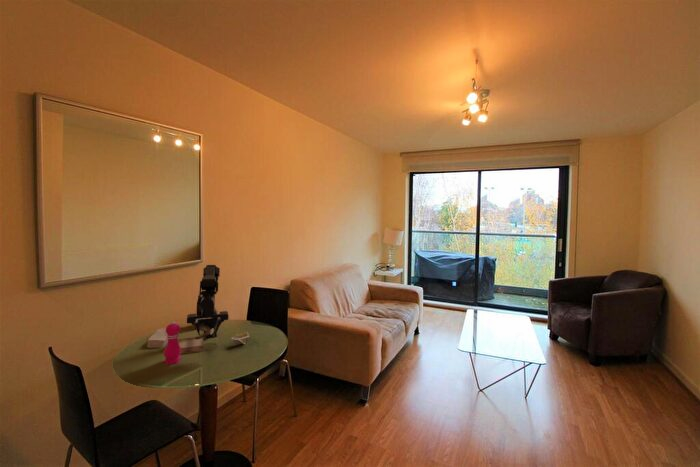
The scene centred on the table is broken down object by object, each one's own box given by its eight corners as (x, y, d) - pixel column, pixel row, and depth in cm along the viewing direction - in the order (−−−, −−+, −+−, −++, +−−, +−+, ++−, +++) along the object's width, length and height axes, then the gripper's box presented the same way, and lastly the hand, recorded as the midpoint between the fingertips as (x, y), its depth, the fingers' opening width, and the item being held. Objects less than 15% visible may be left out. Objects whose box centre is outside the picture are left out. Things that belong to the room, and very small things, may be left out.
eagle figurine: (214, 330, 165) (195, 328, 161) (217, 321, 162) (198, 320, 158) (212, 343, 159) (193, 342, 156) (216, 334, 156) (195, 333, 152)
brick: (164, 348, 168) (164, 339, 168) (146, 348, 166) (146, 339, 166) (174, 335, 184) (174, 327, 184) (158, 335, 182) (158, 327, 182)
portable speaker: (213, 326, 200) (214, 295, 198) (197, 328, 195) (197, 297, 193) (211, 321, 207) (212, 292, 205) (195, 323, 202) (195, 293, 200)
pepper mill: (169, 366, 149) (169, 324, 147) (160, 361, 153) (161, 321, 151) (184, 360, 155) (184, 320, 154) (175, 356, 159) (176, 317, 157)
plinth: (203, 341, 177) (203, 336, 177) (203, 350, 166) (203, 345, 166) (178, 344, 172) (178, 339, 172) (177, 354, 161) (177, 348, 161)
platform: (261, 344, 178) (261, 333, 178) (229, 353, 166) (230, 341, 165) (250, 337, 187) (251, 326, 186) (220, 345, 174) (220, 334, 174)
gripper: (227, 297, 169) (226, 325, 171) (187, 299, 161) (187, 329, 163) (229, 303, 159) (228, 333, 161) (186, 306, 151) (186, 338, 153)
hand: (207, 333), depth 160 cm, fingers closed on eagle figurine, 7 cm apart
